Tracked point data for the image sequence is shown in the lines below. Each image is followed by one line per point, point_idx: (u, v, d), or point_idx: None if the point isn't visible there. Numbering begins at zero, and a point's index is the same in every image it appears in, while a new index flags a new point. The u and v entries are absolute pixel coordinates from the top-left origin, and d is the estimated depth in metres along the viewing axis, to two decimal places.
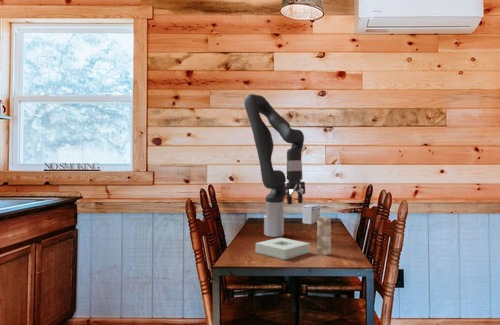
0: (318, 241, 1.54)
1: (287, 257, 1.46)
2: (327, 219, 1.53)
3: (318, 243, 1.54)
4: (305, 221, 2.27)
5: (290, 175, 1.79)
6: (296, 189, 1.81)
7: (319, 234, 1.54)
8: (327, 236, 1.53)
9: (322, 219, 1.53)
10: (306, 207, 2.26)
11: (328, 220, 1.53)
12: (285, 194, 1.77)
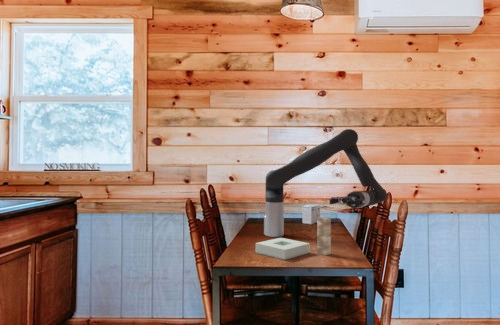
0: (318, 241, 1.54)
1: (287, 257, 1.46)
2: (327, 219, 1.53)
3: (318, 243, 1.54)
4: (305, 221, 2.27)
5: None
6: (347, 203, 1.67)
7: (319, 234, 1.54)
8: (327, 236, 1.53)
9: (322, 219, 1.53)
10: (306, 207, 2.26)
11: (328, 220, 1.53)
12: (358, 202, 1.60)
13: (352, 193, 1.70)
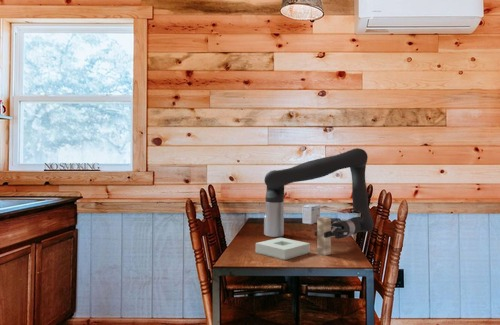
0: (318, 241, 1.54)
1: (287, 257, 1.46)
2: (327, 219, 1.53)
3: (318, 243, 1.54)
4: (305, 221, 2.27)
5: (347, 231, 1.60)
6: None
7: (319, 234, 1.54)
8: None
9: (322, 219, 1.53)
10: (306, 207, 2.26)
11: (328, 220, 1.53)
12: (337, 233, 1.52)
13: (336, 223, 1.61)
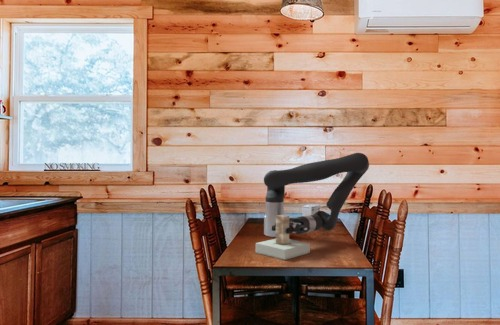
0: (277, 239, 1.55)
1: (287, 257, 1.46)
2: (285, 217, 1.54)
3: (276, 240, 1.56)
4: None
5: (307, 227, 1.62)
6: None
7: (277, 232, 1.55)
8: (285, 234, 1.55)
9: (280, 217, 1.54)
10: (306, 207, 2.26)
11: (286, 218, 1.55)
12: (298, 229, 1.53)
13: (296, 219, 1.63)
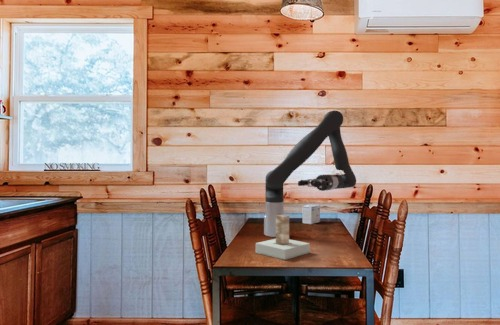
0: (277, 239, 1.55)
1: (287, 257, 1.46)
2: (285, 217, 1.54)
3: (276, 240, 1.56)
4: (305, 221, 2.27)
5: None
6: None
7: (277, 232, 1.55)
8: (285, 234, 1.55)
9: (280, 217, 1.54)
10: (306, 207, 2.26)
11: (286, 218, 1.55)
12: (325, 183, 1.65)
13: (321, 176, 1.75)
